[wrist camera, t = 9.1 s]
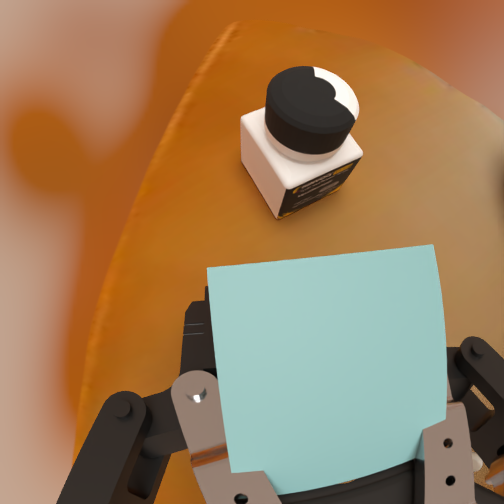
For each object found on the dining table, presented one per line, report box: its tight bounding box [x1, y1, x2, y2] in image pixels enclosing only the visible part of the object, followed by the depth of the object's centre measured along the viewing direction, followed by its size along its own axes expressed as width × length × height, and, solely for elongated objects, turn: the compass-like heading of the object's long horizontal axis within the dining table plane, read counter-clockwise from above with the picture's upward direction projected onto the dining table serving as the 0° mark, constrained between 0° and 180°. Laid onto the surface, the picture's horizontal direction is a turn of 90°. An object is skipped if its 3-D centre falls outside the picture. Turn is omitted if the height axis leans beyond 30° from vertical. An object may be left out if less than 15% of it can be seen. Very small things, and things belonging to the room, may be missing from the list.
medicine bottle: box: [241, 66, 363, 219], centre depth 22 cm, size 7×7×12 cm
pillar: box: [207, 244, 447, 499], centre depth 10 cm, size 4×4×10 cm
